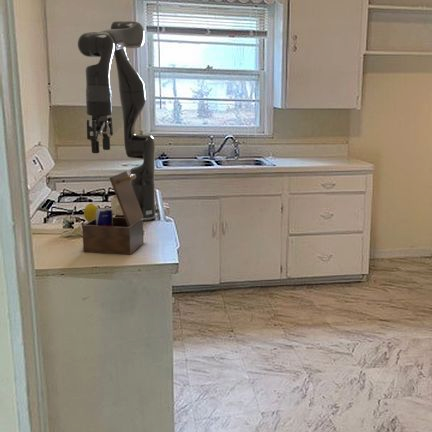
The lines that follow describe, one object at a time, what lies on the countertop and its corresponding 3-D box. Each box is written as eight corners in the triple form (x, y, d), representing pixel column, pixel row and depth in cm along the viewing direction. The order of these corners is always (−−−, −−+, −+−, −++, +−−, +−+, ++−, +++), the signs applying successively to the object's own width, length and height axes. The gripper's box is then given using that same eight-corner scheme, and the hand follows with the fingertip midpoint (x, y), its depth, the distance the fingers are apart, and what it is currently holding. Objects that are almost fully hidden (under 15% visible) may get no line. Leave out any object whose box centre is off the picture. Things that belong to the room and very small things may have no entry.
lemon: (96, 225, 217) (95, 205, 215) (82, 225, 217) (81, 204, 215) (101, 222, 222) (100, 202, 220) (87, 221, 222) (86, 201, 220)
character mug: (126, 235, 205) (125, 200, 202) (107, 234, 205) (105, 199, 202) (136, 227, 215) (135, 194, 212) (118, 226, 216) (116, 193, 213)
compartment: (83, 251, 185) (82, 225, 183) (99, 240, 197) (98, 216, 195) (130, 254, 184) (129, 227, 182) (143, 243, 196) (142, 218, 194)
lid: (109, 178, 179) (123, 173, 178) (124, 171, 191) (137, 167, 190) (128, 226, 182) (142, 222, 181) (141, 217, 194) (155, 213, 193)
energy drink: (108, 247, 188) (107, 211, 185) (94, 246, 189) (92, 210, 186) (116, 243, 193) (115, 208, 190) (102, 241, 194) (100, 207, 191)
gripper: (96, 98, 187) (99, 148, 191) (77, 100, 173) (80, 153, 177) (119, 99, 186) (121, 149, 190) (101, 101, 172) (103, 154, 176)
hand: (101, 151), depth 183 cm, fingers open, 8 cm apart
